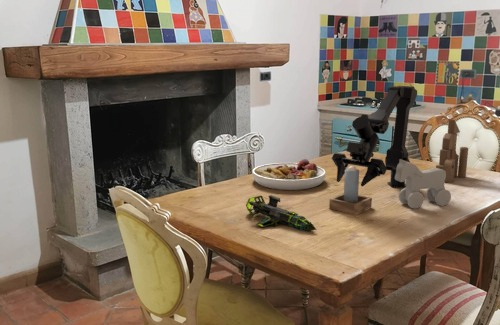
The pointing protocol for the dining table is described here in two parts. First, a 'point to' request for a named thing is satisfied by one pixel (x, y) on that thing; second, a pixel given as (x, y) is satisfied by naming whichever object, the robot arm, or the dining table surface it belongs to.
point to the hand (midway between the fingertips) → (349, 183)
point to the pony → (421, 185)
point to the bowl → (289, 175)
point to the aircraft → (277, 214)
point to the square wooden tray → (350, 204)
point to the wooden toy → (452, 154)
